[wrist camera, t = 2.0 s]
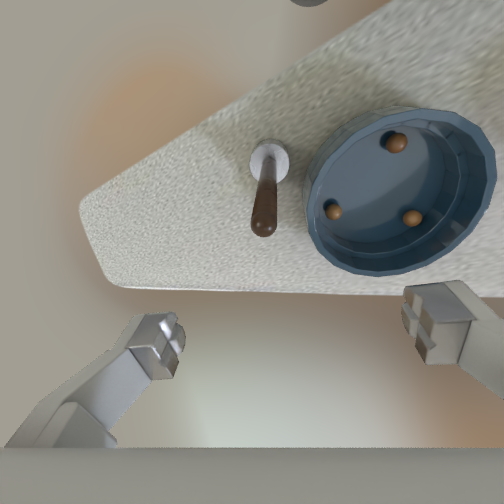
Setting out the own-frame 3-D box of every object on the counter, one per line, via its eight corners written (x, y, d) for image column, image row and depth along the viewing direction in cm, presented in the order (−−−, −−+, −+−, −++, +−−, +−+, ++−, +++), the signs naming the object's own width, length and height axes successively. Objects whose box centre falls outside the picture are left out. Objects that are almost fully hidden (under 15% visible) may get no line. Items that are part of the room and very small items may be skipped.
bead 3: (400, 208, 31) (407, 215, 30) (418, 206, 31) (426, 212, 29) (399, 223, 32) (406, 230, 31) (416, 220, 32) (424, 228, 30)
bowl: (293, 127, 28) (297, 135, 23) (474, 86, 25) (524, 85, 20) (309, 257, 37) (314, 284, 32) (442, 240, 34) (472, 266, 29)
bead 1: (323, 202, 32) (326, 209, 30) (339, 200, 31) (343, 206, 30) (324, 217, 33) (327, 224, 31) (340, 214, 32) (344, 221, 31)
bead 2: (383, 133, 27) (390, 136, 25) (403, 129, 27) (412, 132, 25) (382, 153, 28) (389, 157, 26) (401, 149, 28) (410, 153, 26)
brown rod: (247, 143, 29) (216, 200, 14) (285, 135, 28) (297, 186, 13) (255, 180, 31) (235, 265, 16) (290, 173, 31) (305, 256, 15)
